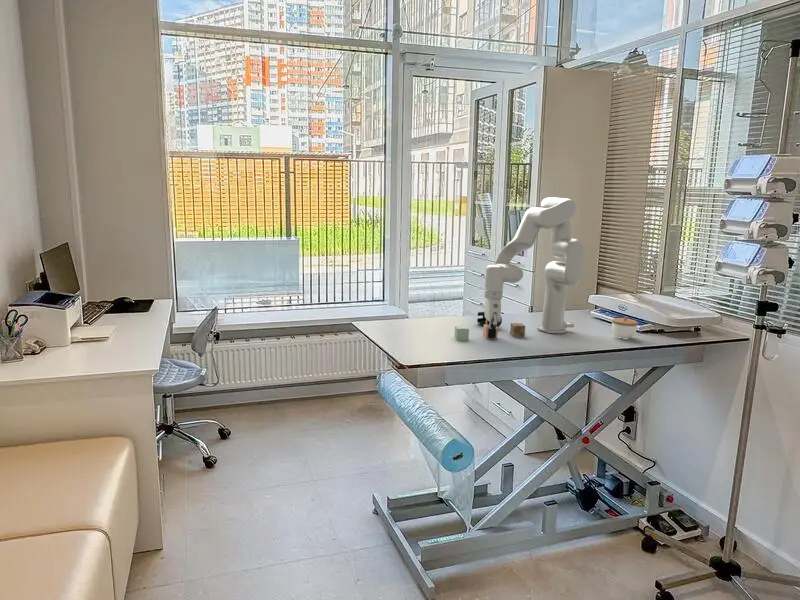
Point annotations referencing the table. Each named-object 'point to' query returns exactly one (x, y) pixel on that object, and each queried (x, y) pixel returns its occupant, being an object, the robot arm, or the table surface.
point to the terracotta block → (485, 331)
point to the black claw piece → (483, 320)
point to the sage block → (461, 333)
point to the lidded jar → (624, 327)
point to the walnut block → (517, 330)
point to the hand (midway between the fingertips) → (490, 335)
